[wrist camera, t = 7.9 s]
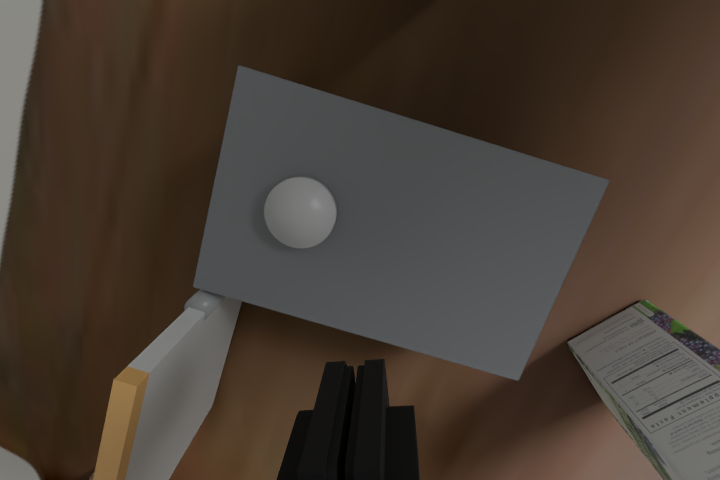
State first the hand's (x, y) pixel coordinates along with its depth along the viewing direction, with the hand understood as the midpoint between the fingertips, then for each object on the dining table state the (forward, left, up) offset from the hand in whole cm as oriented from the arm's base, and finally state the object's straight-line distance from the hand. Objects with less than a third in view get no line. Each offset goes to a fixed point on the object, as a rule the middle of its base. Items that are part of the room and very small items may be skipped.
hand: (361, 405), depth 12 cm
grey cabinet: (0, -3, -16) cm, 16 cm away
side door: (+8, +8, -15) cm, 19 cm away
